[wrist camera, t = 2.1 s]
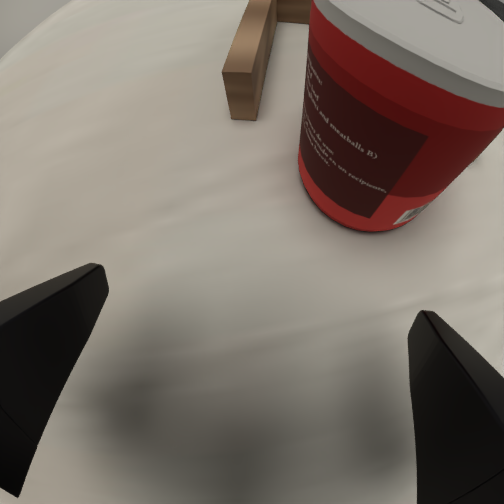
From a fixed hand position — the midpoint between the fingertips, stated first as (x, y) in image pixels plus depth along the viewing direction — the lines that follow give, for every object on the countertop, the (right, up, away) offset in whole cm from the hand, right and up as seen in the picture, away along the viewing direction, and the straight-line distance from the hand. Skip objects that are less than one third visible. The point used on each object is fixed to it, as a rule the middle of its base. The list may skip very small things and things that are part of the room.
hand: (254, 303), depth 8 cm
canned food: (+6, +6, +8) cm, 12 cm away
